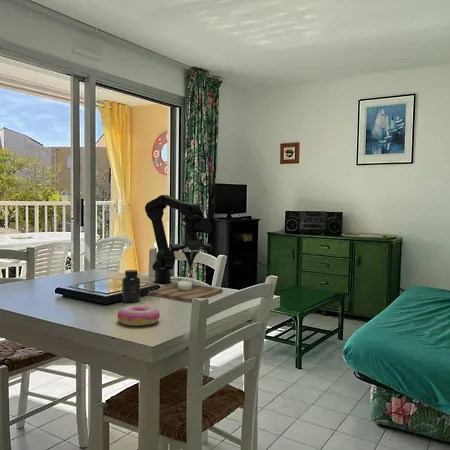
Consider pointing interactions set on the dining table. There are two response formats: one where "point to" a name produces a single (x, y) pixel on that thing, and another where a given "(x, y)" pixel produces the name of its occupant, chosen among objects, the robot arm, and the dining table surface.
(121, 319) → the donut
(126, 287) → the supplement bottle
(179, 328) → the dining table surface
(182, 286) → the green and white block
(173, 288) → the walnut base
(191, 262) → the robot arm
